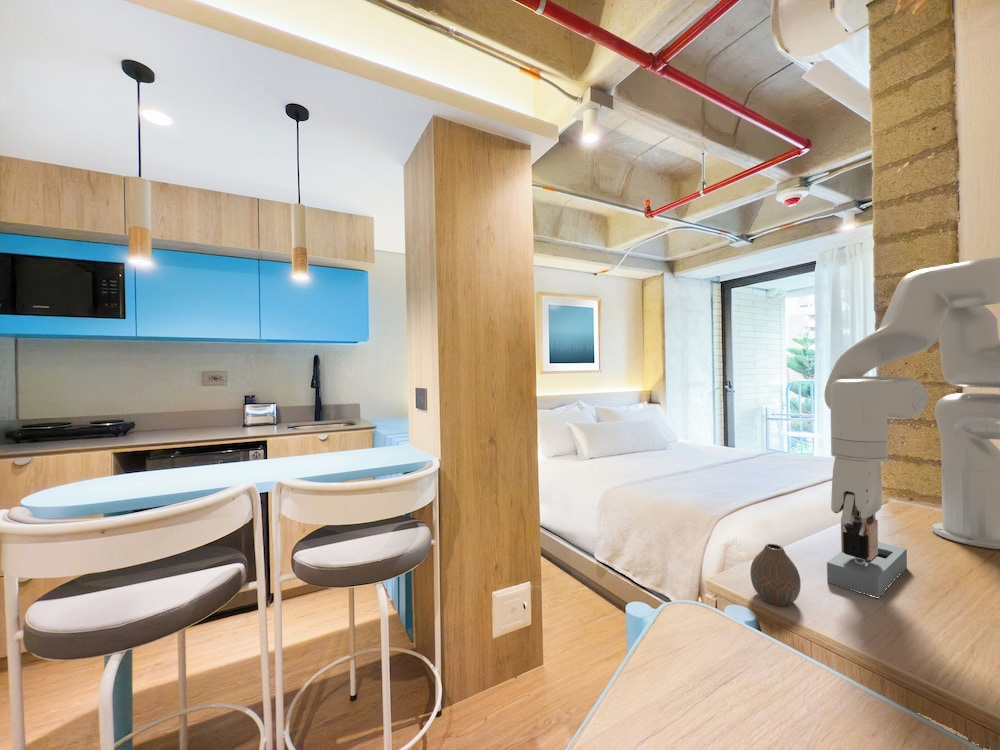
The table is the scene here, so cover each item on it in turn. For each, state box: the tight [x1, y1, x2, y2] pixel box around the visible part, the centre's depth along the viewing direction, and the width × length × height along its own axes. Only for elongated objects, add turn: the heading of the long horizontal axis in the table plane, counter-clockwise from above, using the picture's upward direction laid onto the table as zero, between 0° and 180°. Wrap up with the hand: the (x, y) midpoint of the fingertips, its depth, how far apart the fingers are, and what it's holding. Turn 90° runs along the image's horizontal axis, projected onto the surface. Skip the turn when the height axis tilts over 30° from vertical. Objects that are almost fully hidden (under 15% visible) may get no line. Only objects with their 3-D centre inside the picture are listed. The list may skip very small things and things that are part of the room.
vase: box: [749, 543, 802, 607], centre depth 69 cm, size 7×7×9 cm
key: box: [840, 515, 879, 566], centre depth 73 cm, size 4×4×10 cm
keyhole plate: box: [826, 541, 908, 597], centre depth 76 cm, size 18×7×4 cm, turn 125°
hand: (859, 551), depth 73 cm, fingers closed on key, 3 cm apart
